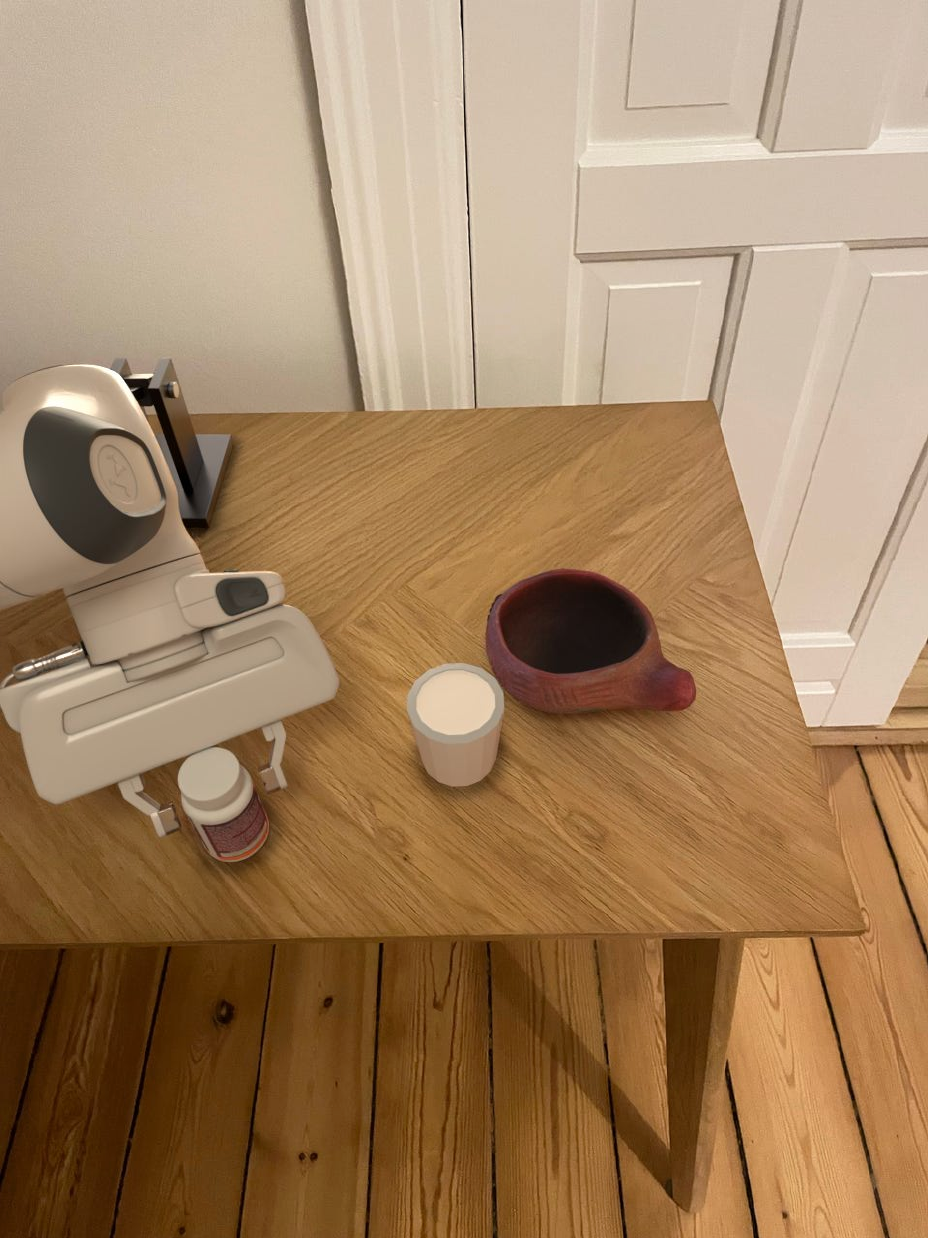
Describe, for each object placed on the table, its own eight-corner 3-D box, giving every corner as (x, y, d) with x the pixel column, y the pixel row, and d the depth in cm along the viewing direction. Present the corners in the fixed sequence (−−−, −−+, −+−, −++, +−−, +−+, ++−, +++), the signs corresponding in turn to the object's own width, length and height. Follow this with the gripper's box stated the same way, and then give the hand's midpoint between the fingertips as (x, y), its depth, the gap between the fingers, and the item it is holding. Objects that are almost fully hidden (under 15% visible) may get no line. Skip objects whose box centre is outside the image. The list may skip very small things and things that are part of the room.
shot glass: (521, 741, 71) (523, 687, 66) (473, 810, 68) (470, 759, 62) (445, 702, 74) (441, 647, 68) (395, 767, 70) (386, 714, 65)
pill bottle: (282, 817, 68) (259, 756, 61) (246, 874, 65) (218, 817, 58) (227, 793, 69) (199, 731, 63) (189, 848, 66) (156, 789, 60)
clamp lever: (128, 427, 73) (124, 396, 72) (59, 427, 73) (53, 396, 72) (180, 401, 84) (177, 373, 83) (120, 401, 84) (116, 373, 83)
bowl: (468, 724, 72) (465, 662, 66) (503, 601, 80) (504, 535, 74) (679, 765, 69) (696, 704, 63) (694, 633, 77) (711, 567, 71)
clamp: (208, 527, 87) (171, 416, 77) (113, 527, 87) (64, 416, 77) (234, 443, 94) (202, 332, 85) (146, 443, 95) (104, 332, 85)
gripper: (-25, 679, 56) (62, 889, 58) (302, 566, 61) (372, 762, 63) (-4, 669, 62) (74, 859, 64) (292, 568, 67) (356, 746, 69)
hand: (224, 810), depth 63 cm, fingers open, 6 cm apart
